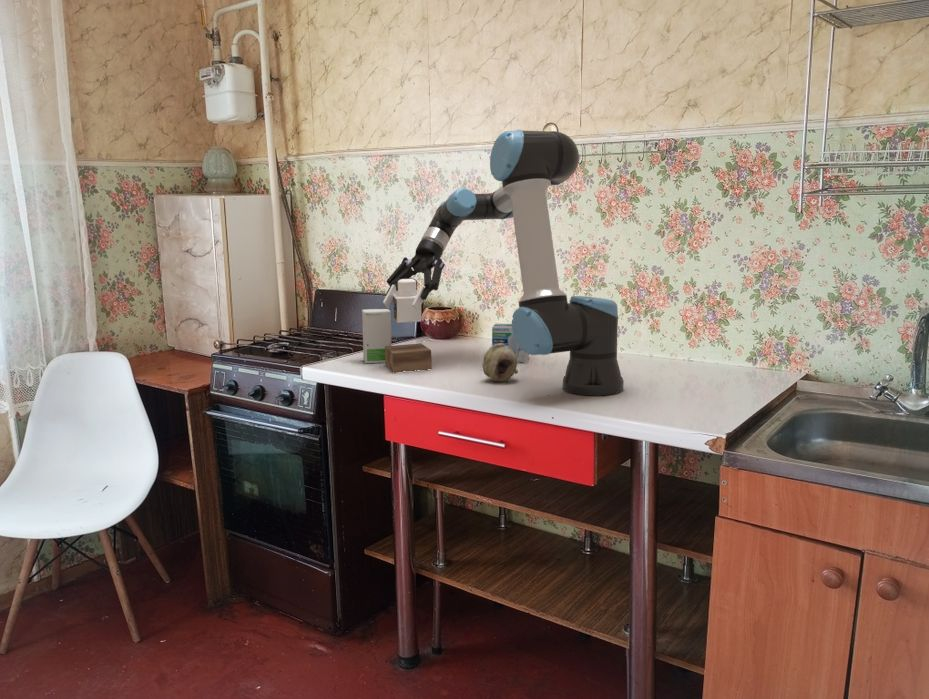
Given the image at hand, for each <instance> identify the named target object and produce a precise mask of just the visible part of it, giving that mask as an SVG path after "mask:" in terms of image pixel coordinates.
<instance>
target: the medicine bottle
mask: <svg viewBox="0 0 929 699" xmlns="http://www.w3.org/2000/svg"><path fill="white" fill-rule="evenodd" d="M396 293H397V294H396V295H393V302H392V303H393V319H394V320H395V322H396V323H397V324H401V323H403V324H405V323H419V322H420V323H421V322H422V321H423V320H422V315H423V314H422V306H421V307H420V309H419V311H416V309H415V308H414V307H413V305H412V304H413V302H414V300H415V298H416V296H417V294H418V280H417V279H415V278H411V277H410V278H402V279H398V280H397V281H396Z"/></svg>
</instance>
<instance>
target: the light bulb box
mask: <svg viewBox="0 0 929 699" xmlns="http://www.w3.org/2000/svg"><path fill="white" fill-rule="evenodd" d="M499 343H503V344H504V345H505V346H510V347H511V349H512V351H513V352H514V354H515V355H516V358H517V362H527V361H529V360H528V359H530V354H528V353H526V352H524V351H523V350H522V348H521V347H519V345H518V344H517V342H516V340H515V337H514V334H513V330H512V323H494V325H493V326H492V327H491V347H492V346H494V345H496V344H499ZM527 363H528V362H527Z"/></svg>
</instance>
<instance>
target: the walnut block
mask: <svg viewBox="0 0 929 699" xmlns="http://www.w3.org/2000/svg"><path fill="white" fill-rule="evenodd" d="M385 360H386V362H385V366H386V367H387V368H388V369H389V370H390V371H391V372H392V373H393V372H394V373H393V374H397V373H396V372H403V371H414V372H418V371H417V370H425V371H429V370H428V369H432V366H433V365H432V350H431V349H430V348H429V347H428V346H426V345H424V344H423V343H410V344H408V343H407V344H400V345H399V344H398V345H395V344H394V345H391V346H385ZM415 370H416V371H415ZM403 373H404V372H403Z"/></svg>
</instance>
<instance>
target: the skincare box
mask: <svg viewBox="0 0 929 699" xmlns="http://www.w3.org/2000/svg"><path fill="white" fill-rule="evenodd" d="M361 313H362V315H361V316H362V319H361V320H362V350H363V351H362V355H363V356H362V357H363V361H364V363H365V364H382V363H384V364H385V363H386V360H385V346H392V316H391V314H392V312H391V310H389V308H380V309H379V308H374V309H373V308H370V309H361Z"/></svg>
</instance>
